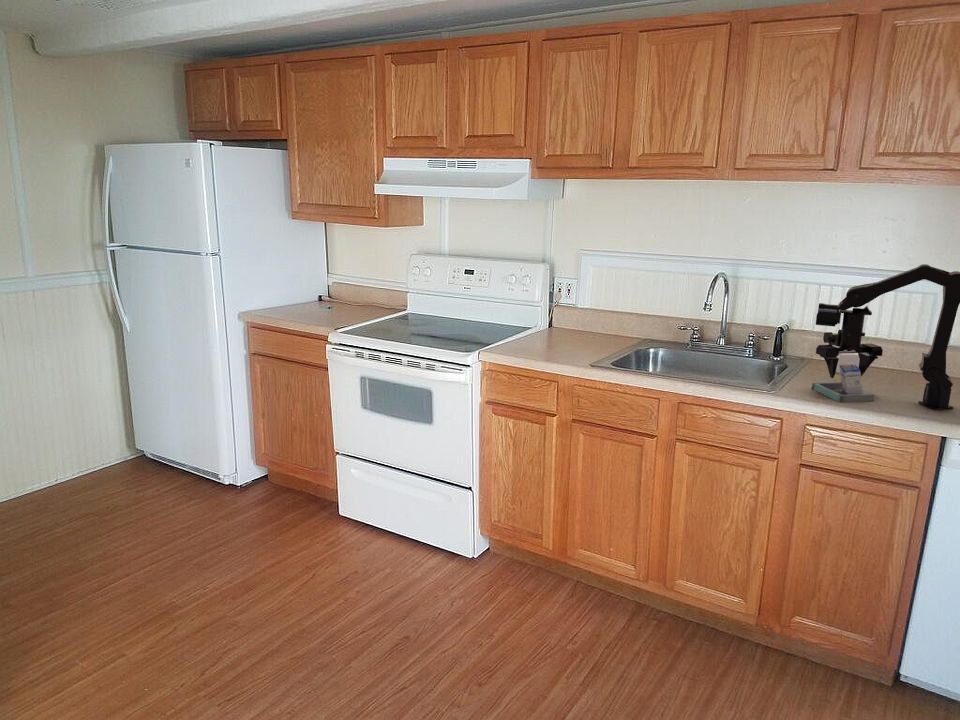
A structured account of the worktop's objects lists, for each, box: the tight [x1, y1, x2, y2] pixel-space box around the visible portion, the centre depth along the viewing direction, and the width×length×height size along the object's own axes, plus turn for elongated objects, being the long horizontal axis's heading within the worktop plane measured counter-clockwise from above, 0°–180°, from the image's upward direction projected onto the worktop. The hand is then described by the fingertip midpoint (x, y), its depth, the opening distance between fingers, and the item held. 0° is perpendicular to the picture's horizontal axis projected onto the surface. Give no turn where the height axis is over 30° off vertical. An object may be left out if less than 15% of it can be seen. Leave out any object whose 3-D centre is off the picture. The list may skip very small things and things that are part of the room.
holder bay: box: [811, 381, 875, 403], centre depth 221 cm, size 14×11×2 cm
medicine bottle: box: [835, 346, 860, 374], centre depth 247 cm, size 7×7×12 cm
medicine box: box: [839, 363, 864, 395], centre depth 221 cm, size 8×4×9 cm, turn 165°
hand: (845, 377), depth 220 cm, fingers open, 9 cm apart
